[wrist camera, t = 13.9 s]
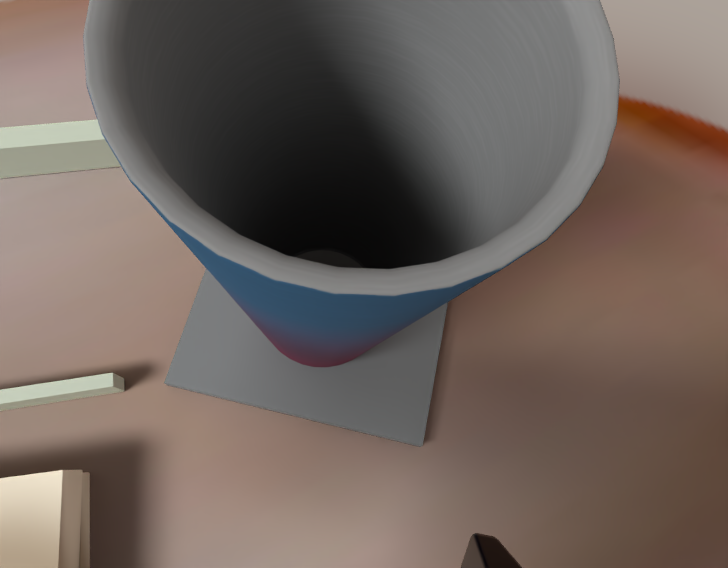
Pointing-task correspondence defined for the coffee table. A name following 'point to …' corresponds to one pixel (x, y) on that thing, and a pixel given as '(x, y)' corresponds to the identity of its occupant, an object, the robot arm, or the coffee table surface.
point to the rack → (44, 156)
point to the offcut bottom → (85, 522)
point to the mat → (309, 371)
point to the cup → (354, 145)
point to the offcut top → (41, 520)
